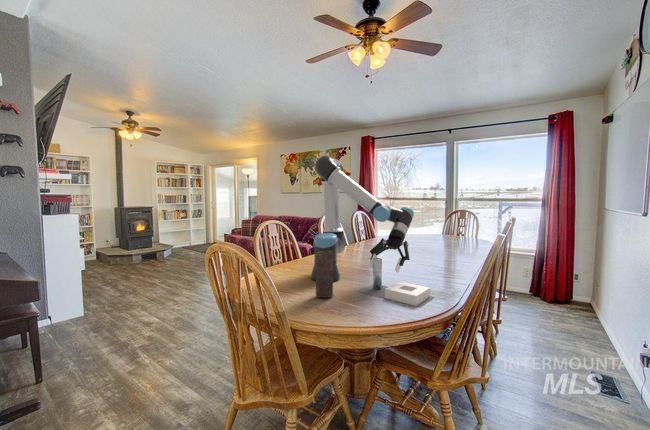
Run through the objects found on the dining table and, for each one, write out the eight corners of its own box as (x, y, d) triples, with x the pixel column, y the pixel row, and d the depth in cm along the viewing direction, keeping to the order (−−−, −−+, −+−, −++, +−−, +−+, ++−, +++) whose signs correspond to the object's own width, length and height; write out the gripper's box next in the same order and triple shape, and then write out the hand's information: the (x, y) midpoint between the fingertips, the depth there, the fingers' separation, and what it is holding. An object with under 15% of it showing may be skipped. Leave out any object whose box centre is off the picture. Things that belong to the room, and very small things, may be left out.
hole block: (384, 297, 128) (384, 288, 128) (399, 290, 139) (400, 281, 139) (416, 305, 119) (416, 296, 119) (429, 296, 130) (430, 287, 130)
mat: (356, 292, 137) (356, 291, 137) (374, 284, 149) (374, 283, 149) (420, 309, 117) (420, 307, 117) (435, 298, 129) (435, 297, 129)
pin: (371, 288, 141) (371, 259, 140) (375, 286, 144) (375, 257, 143) (378, 290, 138) (379, 260, 137) (383, 288, 141) (383, 258, 140)
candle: (331, 300, 126) (331, 253, 125) (313, 299, 128) (314, 252, 126) (334, 294, 134) (334, 250, 132) (317, 293, 135) (318, 249, 134)
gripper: (424, 240, 146) (410, 277, 136) (378, 235, 162) (363, 268, 152) (420, 230, 142) (405, 268, 131) (373, 226, 158) (357, 260, 147)
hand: (383, 268), depth 142 cm, fingers open, 13 cm apart
